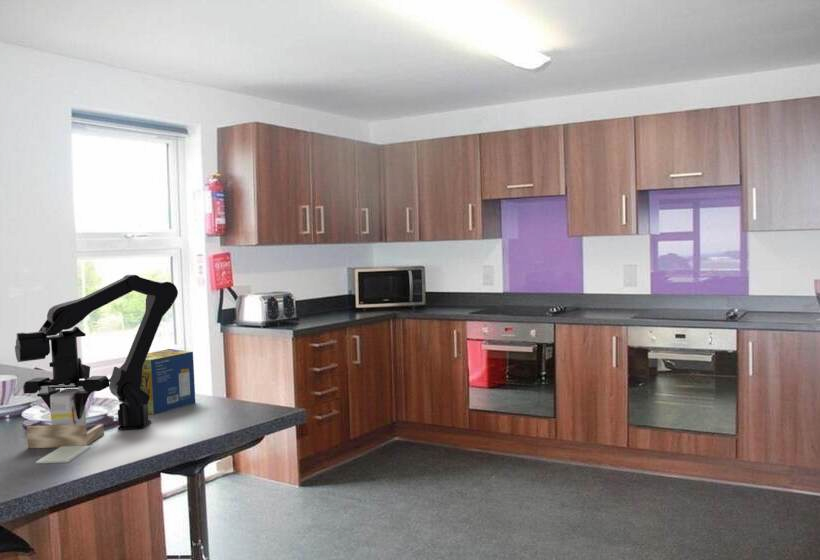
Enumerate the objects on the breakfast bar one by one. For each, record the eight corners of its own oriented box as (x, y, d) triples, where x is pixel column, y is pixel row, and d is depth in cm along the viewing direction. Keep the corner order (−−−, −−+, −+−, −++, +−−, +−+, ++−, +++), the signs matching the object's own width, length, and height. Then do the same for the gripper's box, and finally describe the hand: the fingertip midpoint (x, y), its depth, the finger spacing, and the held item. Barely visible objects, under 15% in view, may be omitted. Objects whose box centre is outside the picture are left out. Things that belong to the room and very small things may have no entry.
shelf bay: (103, 434, 177) (102, 414, 177) (85, 446, 167) (83, 425, 166) (50, 435, 177) (48, 416, 177) (28, 448, 167) (26, 427, 167)
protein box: (129, 410, 201) (125, 357, 199) (172, 399, 214) (170, 348, 213) (153, 414, 195) (150, 359, 194) (196, 402, 208) (194, 350, 207)
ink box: (71, 443, 169) (68, 395, 168) (51, 444, 169) (48, 396, 168) (88, 433, 178) (85, 387, 177) (68, 434, 178) (65, 388, 177)
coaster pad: (90, 447, 166) (90, 445, 166) (67, 462, 155) (67, 460, 155) (61, 448, 166) (61, 446, 166) (36, 463, 155) (35, 461, 155)
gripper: (116, 349, 180) (120, 409, 181) (44, 351, 180) (48, 411, 181) (97, 357, 169) (101, 421, 170) (19, 359, 169) (24, 423, 170)
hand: (69, 419), depth 173 cm, fingers closed on ink box, 5 cm apart
